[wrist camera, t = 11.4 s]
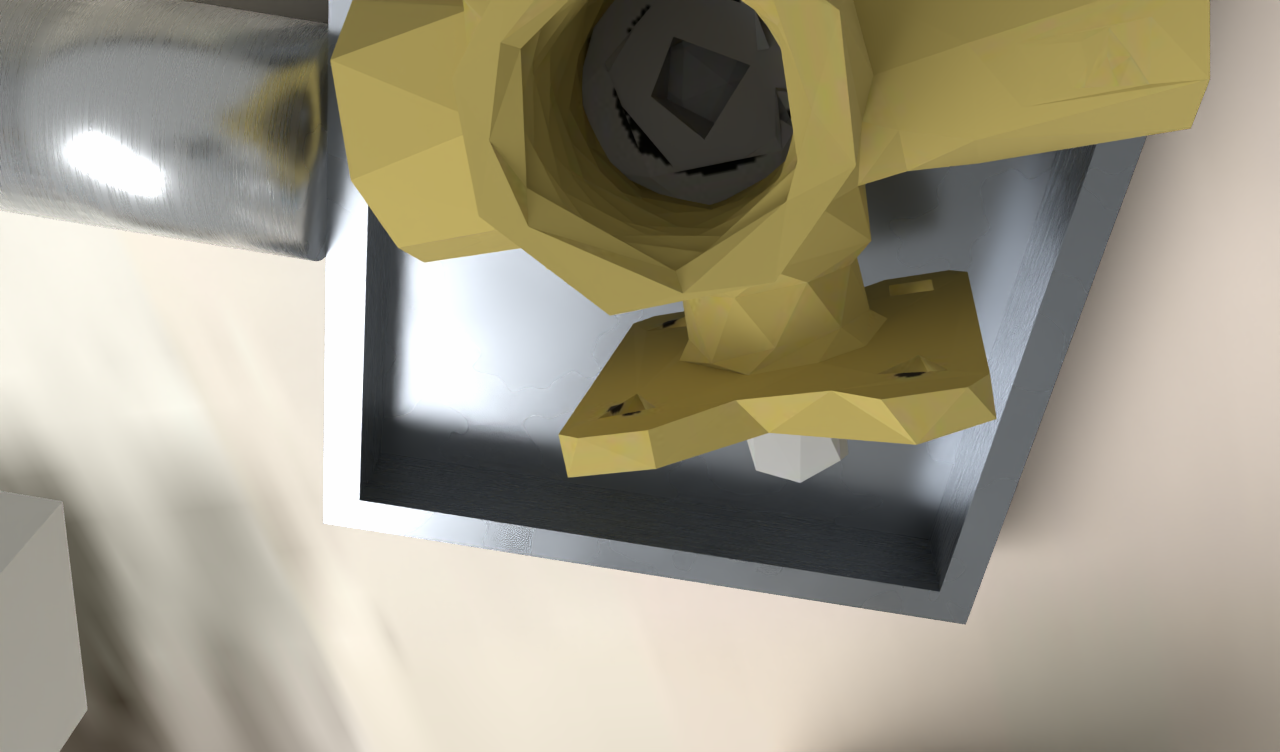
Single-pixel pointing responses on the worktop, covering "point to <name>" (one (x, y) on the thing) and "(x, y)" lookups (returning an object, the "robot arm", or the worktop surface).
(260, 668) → the worktop surface
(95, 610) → the worktop surface
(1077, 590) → the worktop surface
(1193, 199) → the worktop surface
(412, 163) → the ball valve
